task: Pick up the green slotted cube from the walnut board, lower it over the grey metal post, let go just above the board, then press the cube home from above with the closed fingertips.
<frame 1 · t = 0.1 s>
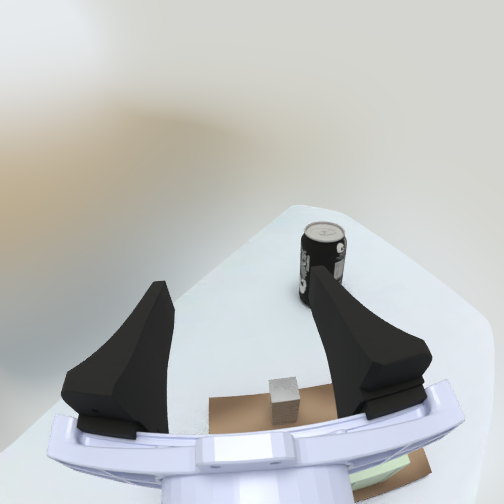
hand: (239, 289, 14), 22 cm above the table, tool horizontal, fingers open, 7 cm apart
board: (316, 448, 24), on the table
beverage can: (319, 297, 45), on the table
post: (282, 413, 27), resting on board
green slotted cube: (353, 466, 21), point 1 cm above the table, touching board
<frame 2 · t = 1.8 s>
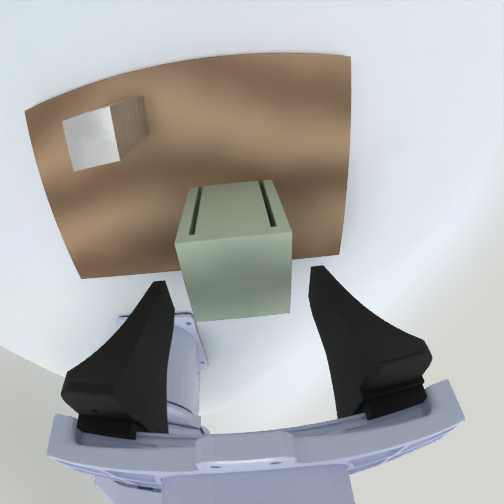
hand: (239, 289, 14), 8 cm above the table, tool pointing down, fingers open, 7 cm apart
board: (185, 171, 19), on the table
post: (126, 119, 15), resting on board
green slotted cube: (234, 219, 20), point 1 cm above the table, touching board
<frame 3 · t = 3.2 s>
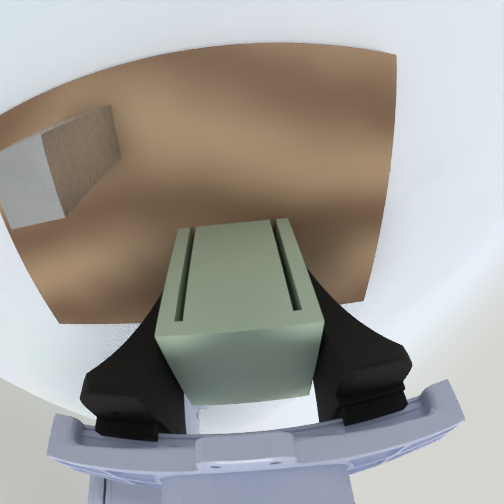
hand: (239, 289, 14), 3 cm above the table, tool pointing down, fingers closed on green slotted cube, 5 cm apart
board: (173, 204, 14), on the table
post: (91, 138, 11), resting on board
green slotted cube: (237, 266, 16), point 1 cm above the table, touching board, gripper
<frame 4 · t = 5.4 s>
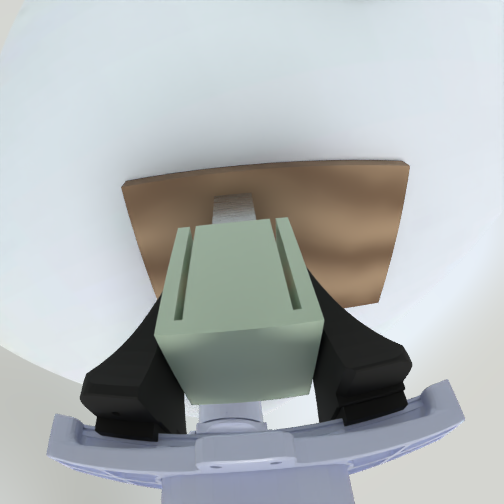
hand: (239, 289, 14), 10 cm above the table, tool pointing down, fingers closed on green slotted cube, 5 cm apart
board: (274, 247, 25), on the table
post: (234, 210, 21), resting on board
green slotted cube: (237, 265, 16), point 8 cm above the table, touching gripper
when the fingers open (4 cm above the table, at t = 7.5 s): green slotted cube drops 1 cm, resting on board.
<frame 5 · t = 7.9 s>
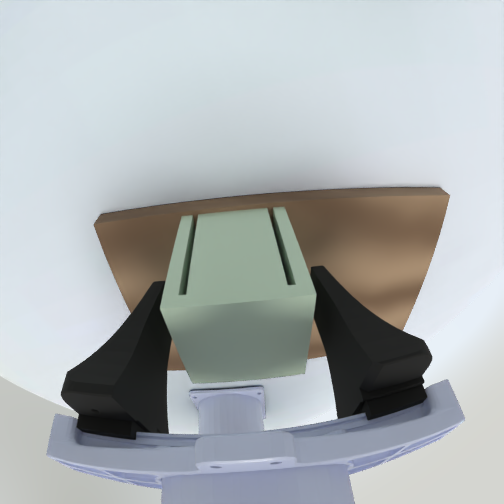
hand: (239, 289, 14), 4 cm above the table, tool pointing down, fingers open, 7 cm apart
board: (284, 291, 20), on the table
green slotted cube: (237, 253, 17), point 1 cm above the table, touching board
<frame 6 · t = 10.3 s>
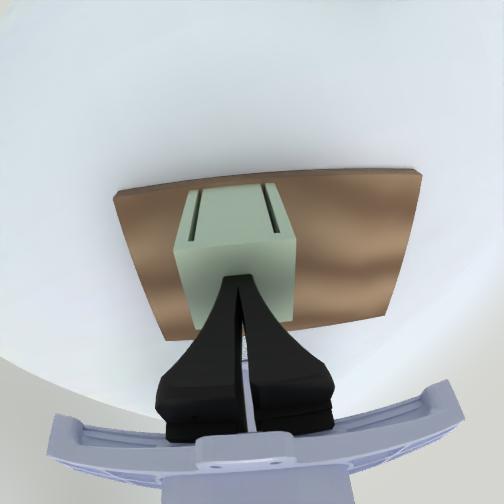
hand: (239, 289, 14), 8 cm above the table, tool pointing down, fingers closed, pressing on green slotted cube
board: (277, 261, 23), on the table
green slotted cube: (235, 223, 19), point 1 cm above the table, touching board, gripper
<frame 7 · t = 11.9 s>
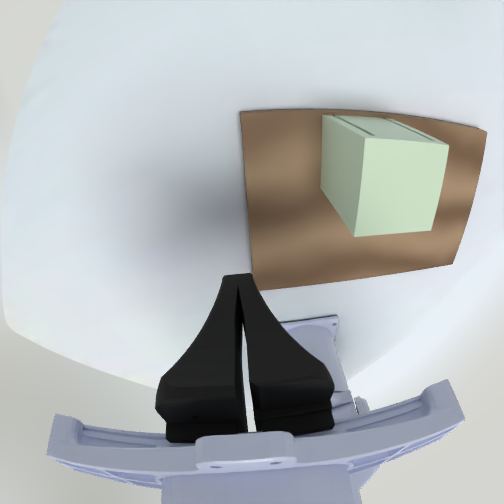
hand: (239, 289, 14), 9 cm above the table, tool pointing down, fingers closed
board: (378, 200, 22), on the table
green slotted cube: (357, 152, 19), point 1 cm above the table, touching board
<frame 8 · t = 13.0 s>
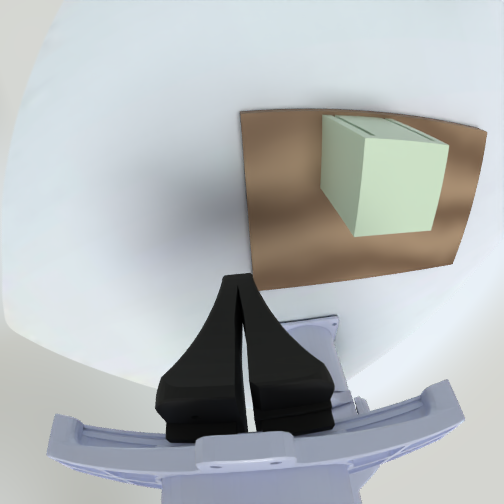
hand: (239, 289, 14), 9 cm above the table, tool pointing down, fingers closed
board: (378, 200, 22), on the table
green slotted cube: (357, 152, 19), point 1 cm above the table, touching board
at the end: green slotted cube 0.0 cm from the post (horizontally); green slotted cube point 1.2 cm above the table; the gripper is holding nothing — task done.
